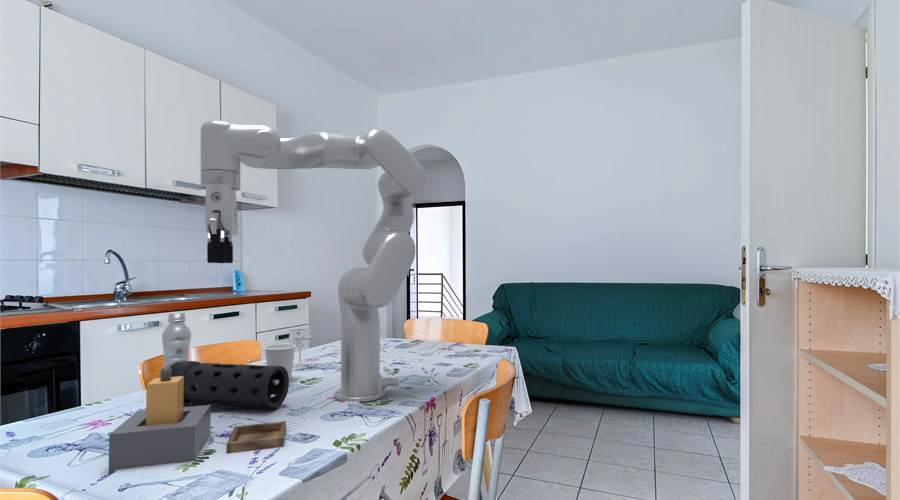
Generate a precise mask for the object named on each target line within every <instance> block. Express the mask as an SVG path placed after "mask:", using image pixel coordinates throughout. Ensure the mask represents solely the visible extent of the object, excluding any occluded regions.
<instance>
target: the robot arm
mask: <svg viewBox="0 0 900 500" xmlns="http://www.w3.org/2000/svg"><path fill="white" fill-rule="evenodd" d="M241 164H243V165H245V166H247V167H249V168H253V169H263V170H264V169H266V170H267V169H268V170H295V169H297V170H298V169H303V170H304V169H320V168H321V169H324V168H325V169H342V170H343V169H345V170H371V169H374V168H377V167H380V168H381V169H382V170H383V171H384V172H383V173H382V174H381V175H380V176H379V179H378V181H377V182H378V183H377V187H378V188H377V189H378V192H379V195H380V197H381V200H382V204H383V210H382V213H381V216H380V217H379V218H378V222H377V223H376V225H375V226H374V228H373V230H372V232H371V233H370V235H369V236H368V238H367V239H366V241H365V244H364V246H363V249H362V257H363V260H364V262H365V263H366V264H367V265H368V267H354V268H352V269H349V270H348V271H346V272H345V273H344V274H343V275H342V276H341V277H340V280H339V282H338V285H337V286H338V287H337V294H338V302H339V308H340V309H339V310H340V311H339V312H340V388H337V389H335V391H334V393H333V394H334V395H333V396H334V398H335V399H336V400H338V401H341V402H358V403H363V402H371V401H372V402H373V401H377V400H379V399H382V398H384V397H385V396H386V394H387V387H399V385H400V381H399V380H400V379H399V378H398V377H394V378H393V377H392V376H391V377H383V376H382V375H381V368H380V367H381V365H380V364H381V359H380V358H381V353H380V352H381V349H380V347H381V346H380V345H381V338H380V337H381V334H380V333H381V323H380V314H379V313H380V312H379V309H381V308H384V307H386V306H387V305H389V304H390V303H391V302H392V301H393V300H394V298H396V295H397V294H398V293H399V290H400V288H401V286H402V285H403V282H404V281H405V279H406V277H407V275H408V273H409V272H410V270H411V267H412V265H413V263H414V260H415V257H416V251H417V250H416V244H415V240H414V239H413V238H412V236H411V235H410V234H409V233H410V232H411V229H412V227H413V224H414V221H415V220H414V219H415V215H414V214H415V213H414V208H413V205H412V200H411V199H410V198H412V197H416V196H419V195H420V194H421V193H423V192H424V191H425V190H426V188H427V185H428V175H427V172H426V170H425V168H424V166H423V165H422V164H421V163H420V161H418V160H417V158H416V157H414V156H413V154H412V153H411V152H410V151H409V150H408V149H407V148H406V147H405V146H404V145H403V144H402V143H401V142H400V141H399V140H398V139H397V138H396V137H394V136H393V135H392V134H391V133H390V132H387V130H384V129H381V128H375V129H372V130H370V131H368V132H365V133H364V134H350V133H342V132H341V133H339V132H329V131H315V132H311V133H308V134H304V135H300V136H295V137H288V138H285V137H284V138H281V137H280V135H279V133H278V132H277V131H276V130H275V129H273V128H272V127H269V126H267V125H263V124H234V123H231V122H228V121H223V120H209V121H208V120H207V121H205V122H204V123H202V125H201V126H200V189H202V190H205V205H204V206H205V209H204V210H205V211H204V213H205V215H204V216H205V217H204V218H205V223H204V224H205V231H206V232H207V233H208V235H207V243H206V247H207V248H206V250H207V251H206V253H207V254H206V255H207V257H206V258H207V259H206V260H207V263H208V264H233V262H234V244H233V237H235V236H237V235H238V234H239V228H238V225H239V224H238V202H237V193H236V192H238V191H241Z"/></svg>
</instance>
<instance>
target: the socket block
mask: <svg viewBox="0 0 900 500" xmlns="http://www.w3.org/2000/svg"><path fill="white" fill-rule="evenodd" d="M211 408H212V405H203V406H183V421H182V422H179V423H169V424H158V425H148V426H146V409H145V410H138V411H136V412H134V413H133V414H132V415H131V416H130V417H129V418H127V419H126V420H125V421H124V422H123V423H121V424H120V425H119V426H118V427H116V428H115V429H114V430H113V431H111V432H110V433H109V435H108V440H109V441H108V474H114V473H115V472H116V470H124V469H132V468H134V469H135V468H141V467H142V468H143V467H150V466H159V465H166V464H175V463H184V462H192V461H193V462H194V461H196V459H197V457H198V456H199V455H200V453H201V451H202V449H203V447H204V446H205V444H206V443H207V441H208V439H209V437H210V436H211V413H212V412H211Z"/></svg>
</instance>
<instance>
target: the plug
mask: <svg viewBox="0 0 900 500" xmlns="http://www.w3.org/2000/svg"><path fill="white" fill-rule="evenodd" d="M159 373H160V374H159V375H160V378H158V377H155V378H153V379H151V380H150V381H149V382H148V383H147V384H146V395H145V396H146V399H145V400H146V401H145V403H146V404H145V405H146V406H145V407H146V408H145V410H146V426H148V425H158V424H169V423H179V422H182V421H183V407H184V404H183V390H184V376H179V377H171V368H163V367H161V368H160V372H159Z"/></svg>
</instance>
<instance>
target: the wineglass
mask: <svg viewBox="0 0 900 500" xmlns="http://www.w3.org/2000/svg"><path fill="white" fill-rule="evenodd" d="M311 330H312V329H310V328H295V329H290V330H288V332H289V335H288V341H289V343H290V344H295V345H296V347H297V349H298V360H299V361H298V365H297V366H295V367H296V368H303V367H304V365H301V364H302V362H301V361H302V349H303V347H305V346H307V345H308V344H309V342H311V339H312V334H311Z"/></svg>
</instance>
